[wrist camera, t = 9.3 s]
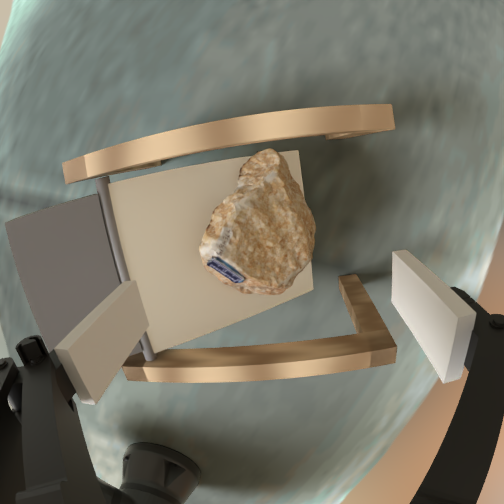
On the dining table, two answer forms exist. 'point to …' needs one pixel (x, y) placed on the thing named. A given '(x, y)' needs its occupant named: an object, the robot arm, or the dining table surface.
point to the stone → (260, 229)
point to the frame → (354, 294)
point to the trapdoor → (138, 255)
